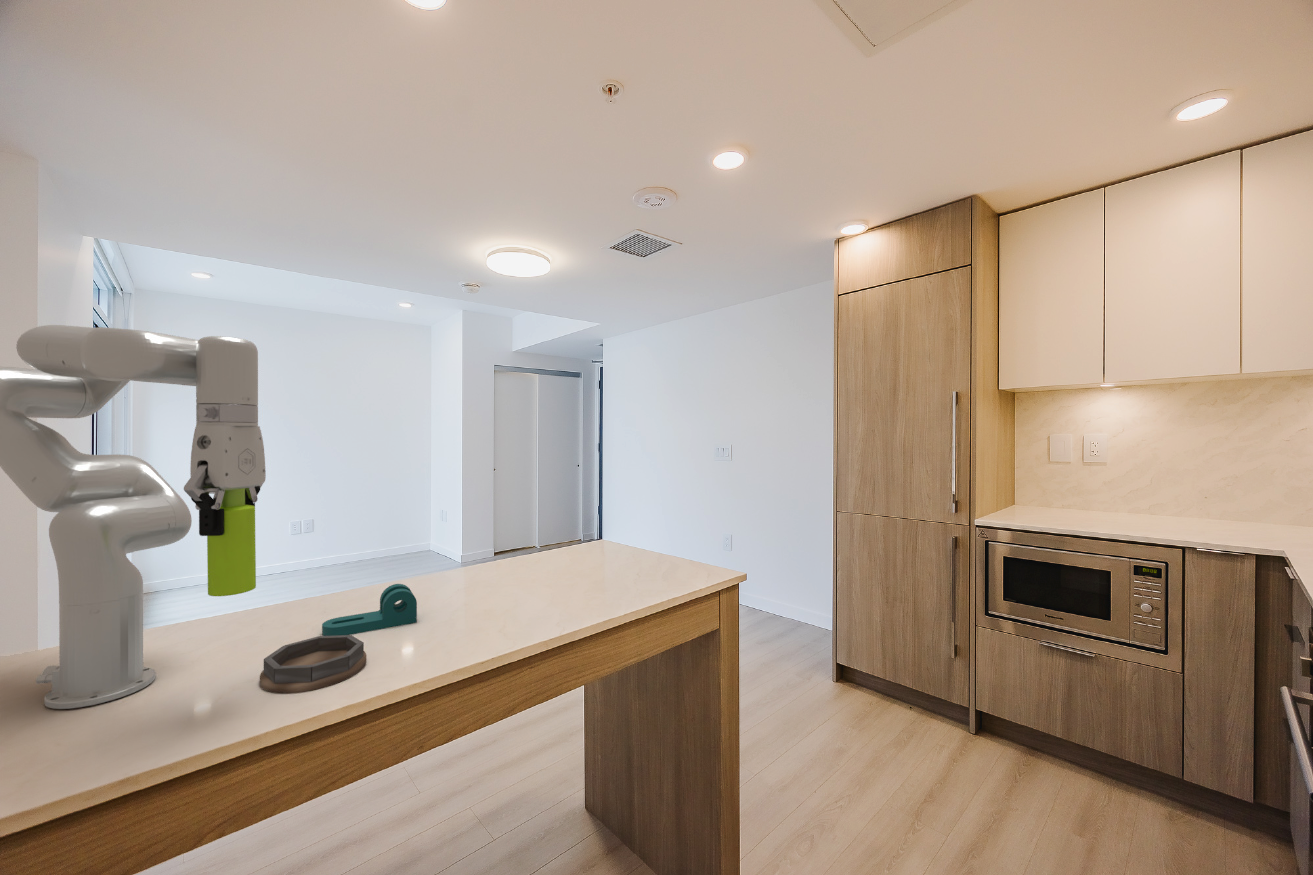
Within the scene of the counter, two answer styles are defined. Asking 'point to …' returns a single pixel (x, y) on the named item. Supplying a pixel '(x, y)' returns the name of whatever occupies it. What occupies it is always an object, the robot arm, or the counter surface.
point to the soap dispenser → (233, 548)
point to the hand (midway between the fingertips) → (228, 530)
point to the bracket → (377, 614)
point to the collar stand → (312, 664)
